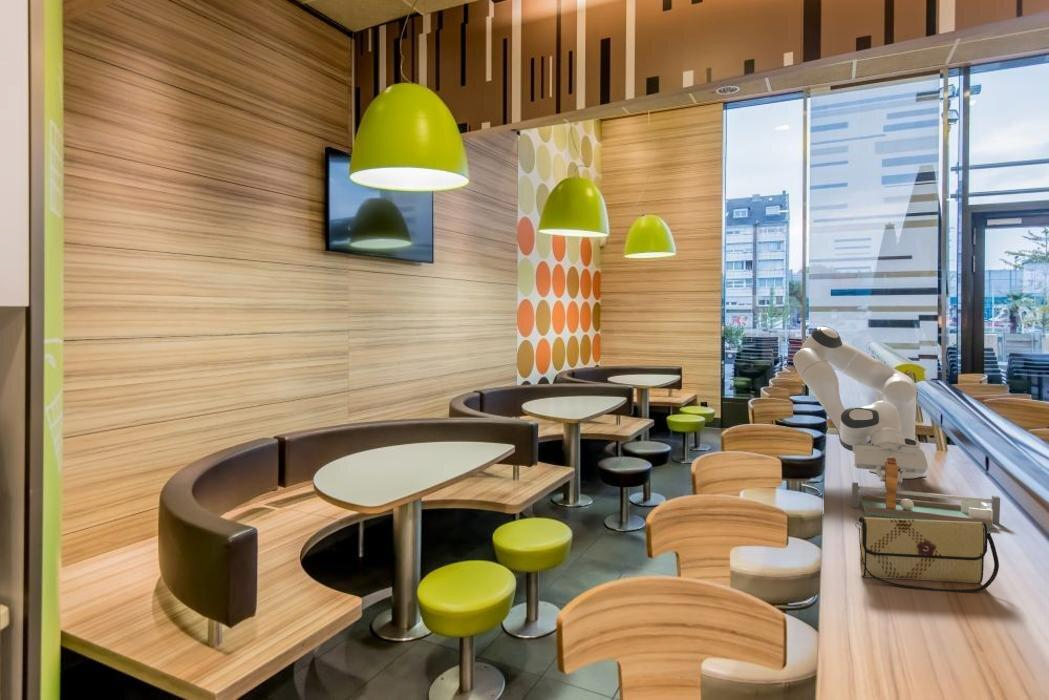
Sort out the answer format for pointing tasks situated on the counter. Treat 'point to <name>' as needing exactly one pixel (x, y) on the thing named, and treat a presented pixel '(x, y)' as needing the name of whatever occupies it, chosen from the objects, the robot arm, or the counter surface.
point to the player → (891, 482)
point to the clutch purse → (925, 551)
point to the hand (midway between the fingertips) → (891, 481)
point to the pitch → (930, 507)
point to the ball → (907, 504)
